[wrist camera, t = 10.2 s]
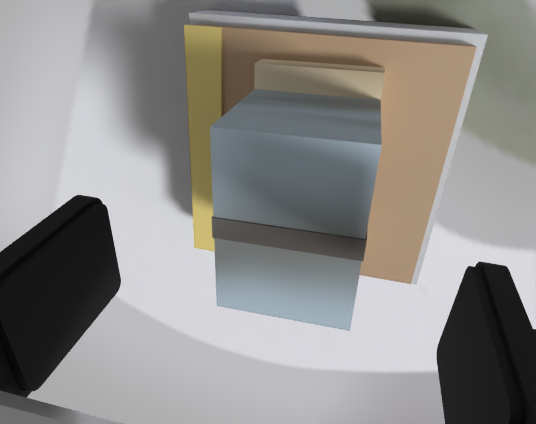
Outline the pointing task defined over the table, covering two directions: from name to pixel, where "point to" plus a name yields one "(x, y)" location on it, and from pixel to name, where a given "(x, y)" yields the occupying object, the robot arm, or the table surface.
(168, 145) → the table surface
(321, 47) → the dock
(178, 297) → the table surface
